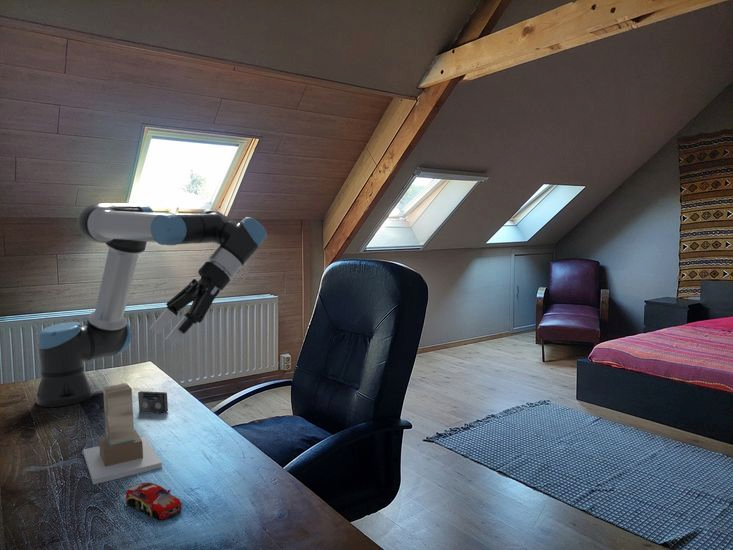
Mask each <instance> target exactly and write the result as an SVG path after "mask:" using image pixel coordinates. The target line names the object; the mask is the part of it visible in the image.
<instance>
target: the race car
mask: <svg viewBox="0 0 733 550" xmlns="http://www.w3.org/2000/svg"><path fill="white" fill-rule="evenodd" d="M170 492H171V489H168V490H167V489H166V488H164V487H162V486H161V485H159V484H156V483H153V482H140V483H138V484H135V485H133V486H131V487H128V489H127V490H126V494H125V499H126V501H125V502H126V504H127V505H129V507H130V506H131V507H130V508H132V507H133V508H132V509H136V510H137V511H139V512H141V513H144V514H146V515H148V516H150V517H152V518H153V519H154V518H155V519H154V520H156V519H157V520H156V521H159V520H162V519H163V520H164V519H165V520H166V519H168V518H171V517H173V516H177V514H179V513H180V512H181V510H182V501H181V499H180V498H178V497H176V496H175V495H173V494H172V493H170Z"/></svg>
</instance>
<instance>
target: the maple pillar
mask: <svg viewBox="0 0 733 550" xmlns="http://www.w3.org/2000/svg"><path fill="white" fill-rule="evenodd" d="M102 389H103V391H102V392H103V406H104V423H105V436H106V438H107V439H108V441H109V442H110V444H116V443H120V442H124V441H129V440H133V439H134V430H135V427H134V425H135V423H134V408H133V391H132V387H131V386H130V385H129V384H128V383H120V384H115V385H108V386H103V387H102Z"/></svg>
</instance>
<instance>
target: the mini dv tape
mask: <svg viewBox="0 0 733 550" xmlns="http://www.w3.org/2000/svg"><path fill="white" fill-rule="evenodd" d="M137 397H138V412H139V413H144V412H154V413H153V414H162V413H165V414H167V413H168V412H169V406H168V404H169V403H168V393H167V392H165V391H164V392H163V391H142V390H141V391H138V394H137ZM167 411H168V412H167ZM157 412H158V413H157ZM166 412H167V413H166Z"/></svg>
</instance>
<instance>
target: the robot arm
mask: <svg viewBox="0 0 733 550" xmlns="http://www.w3.org/2000/svg"><path fill="white" fill-rule="evenodd" d="M77 226H78V230H79V232H80V233H81V235H82V236H83V237H84V238H85V239H87V240H89V241H91V242H93V243H94V242H95V243H99V244H105V245H106V247H107V248H108V252H107V256H106V260H105V265H104V269H103V273H102V278H101V283H100V286H99V287H100V288H99V290H98V291H99V292H98V296H97V301H96V305H95V308H94V309H95V310H94V311H92V312H90V314H89V315H88V317H87V321H86V322H87V323H85V324H81V323H80V322H78V321H68V322H61V323H55V324H52V325H49V326H47V327H45V328H43V329H41V331H40V332H39V334H38V345H37V347H38V351H39V353H38V354H39V363H40V364H39V365H40V375H41V377H40V383H39V384H38V385H39V386H38V389H37V394H36V395H35V397H36V404H37V405H38V406H39V407H44V408H45V407H46V408H55V407H64V406H70V405H75V404H79V403H82V402H84V401H87V400H89V399H90V398H92V394H93V391H92V387H91V385H90V383H89V381H88V377H87V375H86V374H85V369H84V368H85V367H84V362H88V361H92V360H93V361H94V360H97V359H101V358H105V357H106V358H107V357H113V356H116V355H118V354H121V353H123V352H125V351H126V350H127V348H129V346H130V344H131V341H132V333H131V330H132V329H131V326H130V324H129V322H128V320H127V318H126V317H125V316H124V315H125V310H126V307H127V303H128V298H129V294H130V291H131V285H132V282H133V278H134V273H135V271H136V270H135V269H136V266H137V261H138V257H139V255H140V254H141V253H144V252H145V250H146V247H147V243H148V242H149V243H157V244H159V245H161V246H176V245H187V244H188V245H189V244H209V243H213V244H217V245H219V246H218V248H216V250H215V251H214V252H213V253H212V254H211V255H210V256H209V257H208V261H205V262H204V263H203V265H202V266H201V267H200V268H199V269H198V271H197V273H198V275H199V276H200V279H199V280H197V279H196V278H193V279H192V280H191V281H190V282H189V284H187V285H186V286H185V287H184V288H183V289H182V290H181V291H179V292H178V293H177V294H176V295H174V297H172V298H171V299H170V300H169V301H167V302H166V304H165V305H166V308H165V310H164V311H162V313H161V314H160V315H159V317H157V318H156V319H155V321H154V322H153V323H152V324H151V326H150V327H149V328H148V330H150V331H152V332H153V334H156V336H160V334H161V333H162V332H163V330H164V329H165V328H166V327H167V326H168V325H169V323H170V322H171V321H172V320H173V319H174V318H175V317H177V316H178V314H179V311H181V310H182V309H184V308H185V307H187V306H188V305H190V303H191V305H190V308H189V310H188V312H186V313H184V315H183V317H182V318H181V319H180V320H179V322H178V323H177V324H176V325H175V326H174V328H172V330H171V331H170V332H169V333H168V335H166V337H165V338H164V339H165V340H166V341H167V342H168V343H170V344H171V345H172V346H174V347H176V345H178V344H179V342H180V341H181V340H182V339H183V337H184V336H185V335H186V334H187V333H188V332H189V330H190V329H191V328H192V327H193V326H194V324H197V323H202V321H203V320H204V318H205V316H206V314H207V312H208V311H209V309H210V307H211V306H212V304H213V302H214V300H215V299H216V297H217V296H218V294H219V293H220V292H221V291H222V290H224V288H226V286H227V285H228V284H229V282H230V281H231V278H234V276H235V275H236V274H239V273H240V269H241V268H242V267H243V266H244V265H245V263H247V261H248V260H249V259H250V258H251V257H252V255H253V254H254V253H255V252H256V251H257V250H258V249H259V248H260V246H261V245H262V244H263V242H264V241H265V239H266V238H267V236H268V232H267V230H266V228H265V227H264V226H263V225H262V224H261V223H260V221H257V220H256V219H255V218H253V217H250V216H246V217H244V218H243V219H242V220H240V221H237V220H234V219H233V218H231V217H228V216H226V215H225V214H223V213H222V212H220V211H218V210H214V209H212V208H211V209H210V208H207V209H206V208H205V209H203V210H201V211H200V212H199V213H168V212H167V213H166V212H165V213H164V212H154V210H153V208H151V207H150V206H149V205H148V204H145V203H144V204H143V203H136V202H132V203H129V202H128V203H121V202H120V203H119V202H118V203H116V202H115V203H114V202H113V203H112V202H99V203H94V204H93V203H92V204H91V205H88V206H87V207H85V208H84V209H83V210H82V211H81V212H80V214H79V215H78V218H77Z"/></svg>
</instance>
